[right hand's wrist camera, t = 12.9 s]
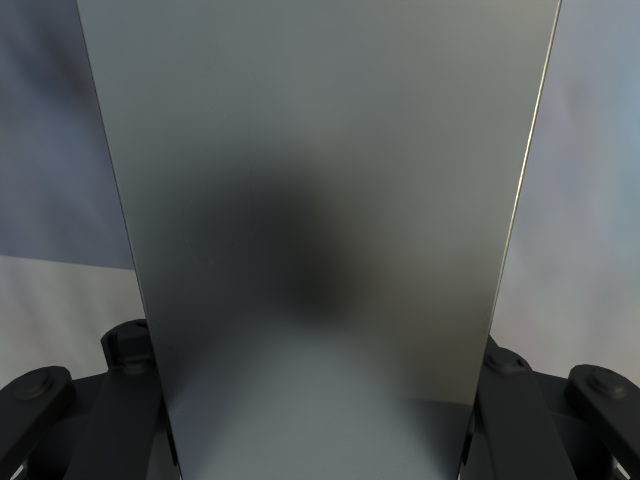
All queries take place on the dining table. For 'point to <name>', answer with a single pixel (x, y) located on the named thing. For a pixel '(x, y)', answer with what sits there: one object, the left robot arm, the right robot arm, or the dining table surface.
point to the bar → (319, 217)
